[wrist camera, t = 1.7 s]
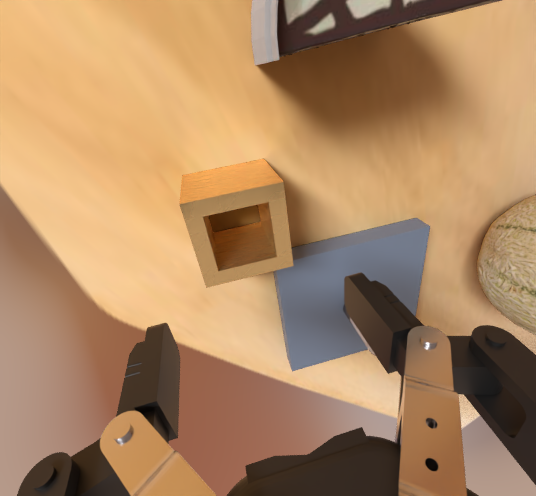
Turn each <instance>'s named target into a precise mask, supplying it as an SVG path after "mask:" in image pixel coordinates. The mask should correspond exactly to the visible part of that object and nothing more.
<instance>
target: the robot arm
mask: <svg viewBox="0 0 536 496" xmlns="http://www.w3.org/2000/svg"><path fill="white" fill-rule="evenodd" d="M344 303H345V308H346V310H347V313H348V315H349V316H350V318H351V319H352V321H353V322H354V324H355V325H356V327H357V328H358V330H359V331H360V333H361V334H362V336H363V337H364V339H365V340H366V341H367V343H368V344H369V346H370V347H371V349H372V350H373V352H374V353H375V355H376V356H377V358H378V359H379V361H380V362H381V364H382V365H383V367H384V368H385V370H386V371H387V373H388V374H389V373H392V372H395V371H398V373H399V374H400V375H401V382H400V394H399V406H398V419H397V429H396V437H395V442H392V441H390V440H387V439H384V438H380V437H374V436H366V435H365V433H364V431H363V429H362V427H361V428H358V429H355V430H352V431H349V432H346V433H343V434H340V435H337V436H334V437H333V438H331V439H330V440H328V441H327V442H326V443H324V444H323V445H322V446H320V447H319V448H317V449H316V450H314V451H313V452H311V453H310V454H308V455H290V456H273V457H271V458H267V459H264V460H261V461H258V462H255V463H252V464H249V465H247V466H246V473H247V476H246V477H244V478H243V479H242V480H240V481H239V482H238V483H237V484H236V485H235V486H234V487H233V488H232V490H231V491H230V492H229V493H228V494H227V496H478V495H477V494H475V493H474V492H472V491H471V490H469V489H467V488H466V478H465V466H464V454H463V442H462V430H461V418H460V406H459V397H458V394H464V395H465V396H466V398H467V399H468V400H469V401H470V403H471V404H472V405H473V407H474V408H475V409H476V410H477V412H478V413H479V414H480V415H481V417H482V418H483V419H484V420H485V422H486V423H487V424H488V425H489V427H490V428H491V429H492V430H493V432H494V433H495V434H496V436H497V437H498V438H499V439H500V441H502V443H503V444H504V446H505V447H506V448H507V450H509V452H510V453H511V455H512V456H513V457H514V458H515V460H516V461H517V462H518V463H519V465H520V466H521V467H522V468H523V470H524V471H525V472H526V473H527V475H528V476H529V477H530V479H531V480H532V481H533V482H534V484H535V485H536V355H535V354H534V353H533V352H532V351H530V350H529V349H528V348H527V347H526V346H525V345H524V344H522V343H521V342H520V341H519V340H518V339H517V338H515V337H514V336H513V335H512V334H510V333H509V332H507V331H505V330H503V329H501V328H498V327H495V326H488V325H485V326H479V327H477V328H475V329H474V330H473V332H472V335H471V336H446V335H445V334H444V333H442V332H441V331H439V330H438V329H435V328H433V327H429V326H424V325H423V324H422V323H421V322H420V321H419V320H418V319H417V318H416V317H415V316H414V315H413V314H412V313H411V311H410V310H409V309H408V308H407V307H406V306H405V305H404V304H403V303H402V302H400V300H399V299H398V298H397V297H396V296H395V295H394V294H393V292H392V291H391V290H390V289H389V288H388V287H387V286H386V285H384V284H382V283H380V282H378V281H376V280H375V281H370V280H369V279H368V278H367V277H366V276H365V275H364V274H363V273H362V272H360V273H356V274H353V275H349V276H346V277H345V279H344ZM179 380H180V355H179V350H178V347H177V344H176V342H175V340H174V338H173V335H172V333H171V331H170V328H169V326H168V324H167V323H163V324H159V325H155V326H151V327H148V328H147V331H146V337H145V341H144V342H140V343H137V344H136V345H135V347H134V348H133V350H132V352H131V353H130V355H129V359H128V364H127V369H126V373H125V378H124V383H123V388H122V392H121V397H120V402H119V407H118V411H117V415H116V417H115V418H114V419H113V420H112V421H111V422H110V423H109V424H108V425H107V427H106V428H105V430H104V431H103V433H102V436H101V438H100V439H99V440H97V441H96V442H94V443H93V444H91V445H90V446H88V447H86V448H85V449H84V450H82V451H80V452H78V453H77V454H75V455H73V456H72V457H70V456H69V455H68V454H66V453H62V452H59V453H54V454H52V455H49V456H47V457H46V458H44V459H43V460H41V461H40V462H39V463H37V464H36V465H35V466H34V467H33V468H32V469H31V471H30V472H29V473H28V474H27V476H26V477H25V478H24V480H23V482H22V484H21V486H20V489H19V491H18V494H17V496H216V494H215V493H214V492H213V491H212V490H211V489H210V488H209V487H208V485H207V484H206V483H205V482H204V481H203V480H202V479H201V478H200V477H199V475H198V474H197V473H196V472H195V471H194V470H193V469H192V468H191V466H190V465H189V464H188V463H187V462H186V461H185V460H184V459H183V457H182V456H181V455H180V454H179V453H178V452H177V451H174V450H173V449H172V448H171V447H170V446H169V444H168V441H169V440H173V439H176V438H178V416H179V415H178V414H179V382H180V381H179Z"/></svg>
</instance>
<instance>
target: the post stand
mask: <svg viewBox="0 0 536 496" xmlns="http://www.w3.org/2000/svg"><path fill="white" fill-rule="evenodd" d="M429 230H430V226H429V225H427V224H425V223H424V222H422V221H421V220H419V219H418V218H413V219H409V220H405V221H401V222H397V223H393V224H389V225H384V226H380V227H376V228H372V229H368V230H364V231H360V232H356V233H351V234H347V235H343V236H339V237H335V238H331V239H327V240H322V241H318V242H314V243H310V244H306V245H302V246H298V247H293V248H291V249H292V257H293V265H294V266H292V267H288V268H284V269H279V270H275V271H273V272H274V278H275V284H276V290H277V297H278V303H279V309H280V315H281V321H282V327H283V333H284V339H285V345H286V351H287V357H288V360H289V363H290V366H291V369H292V371H295V370H298V369H302V368H305V367H309V366H312V365H315V364H319V363H322V362H326V361H329V360H333V359H336V358H340V357H343V356H347V355H350V354H353V353H357V352H360V351H364V350H367V349H368V350H369V351H370V352H371V353H372V354H374V355H375V353H374V352H373V350H372V349H371V347H370V346H369V344H368V343H367V341H366V340H365V339H364V337H363V336H362V334H361V333H360V331H359V330H358V328H357V327H356V325H355V324H354V322H353V321H352V319H351V318H350V316H349V315H348V313H347V310H346V308H345V303H344V279H345V277H346V276H349V275H353V274H356V273H360V272H362V273H363V274H364V275H365V276H366V277H367V278H368V279H369V280H370V281H375V280H376V281H378V282H380V283H382V284H384V285H386V286H387V287H388V288H389V289H390V290H391V291H392V292H393V294H394V295H395V296H396V297H397V298H398V299H399V300H400V302H402V303H403V304H404V305H405V306H406V307H407V308H408V309H409V310H410V311H411V313H412V314H413V315H414V316H416V309H417V303H418V297H419V291H420V285H421V279H422V273H423V267H424V260H425V254H426V248H427V242H428V236H429Z"/></svg>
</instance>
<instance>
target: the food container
mask: <svg viewBox="0 0 536 496" xmlns="http://www.w3.org/2000/svg"><path fill="white" fill-rule="evenodd" d="M497 1H501V0H253V1H252V10H251V31H252V48H253V55H254V62H255V65H259V64H264V63H268V62H272V61H276V60H279V57H281V56H284V57H285V56H286V55H292V54H293V53H297V52H301V51H304V50H308V49H312V48H318V47H319V46H323V45H327V44H331V43H334V42H338V41H342V40H346V39H350V38H354V37H357V36H363V35H365V34H369V33H372V32H376V31H380V30H384V29H389V28H394V27H396V26H400V25H404V24H410V23H412V22H416V21H420V20H424V19H428V18H432V17H437V16H441V15H445V14H449V13H453V12H457V11H461V10H465V9H469V8H473V7H477V6H481V5H485V4H489V3H493V2H497Z"/></svg>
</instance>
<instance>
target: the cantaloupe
mask: <svg viewBox="0 0 536 496" xmlns="http://www.w3.org/2000/svg"><path fill="white" fill-rule="evenodd" d="M477 273H478V278H479V282H480V284H481V287H482V290H483V291H484V293H485V295H486V297H487V298H488V299H489V300H490V302H491V303H492V304H493V305H494V307H495V308H496V309H497V310H499V311H500V312H501V313H502V314H503V315H504V316H505V317H506V318H508V319H509V320H510V321H512V322H513V323H515V324H516V325H518V326H520V327H522V328H523V329H525V330H527V331H529V332H530V333H533V334H535V335H536V195H534V196H531V197H529V198H527V199H525V200H523V201H521V202H520V203H518V204H516V205H515V206H513V207H512V208H510V209H509V210H507V211H506V212H505V213H504V214H503V215H501V216H499V217H498V218H497V219H496V220H495V221H494V222H493V223H492V224H491V226H490V228H489V229H488V231H487V233H486V235H485V237H484V239H483V242H482V246H481V249H480V252H479V255H478V260H477Z"/></svg>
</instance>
